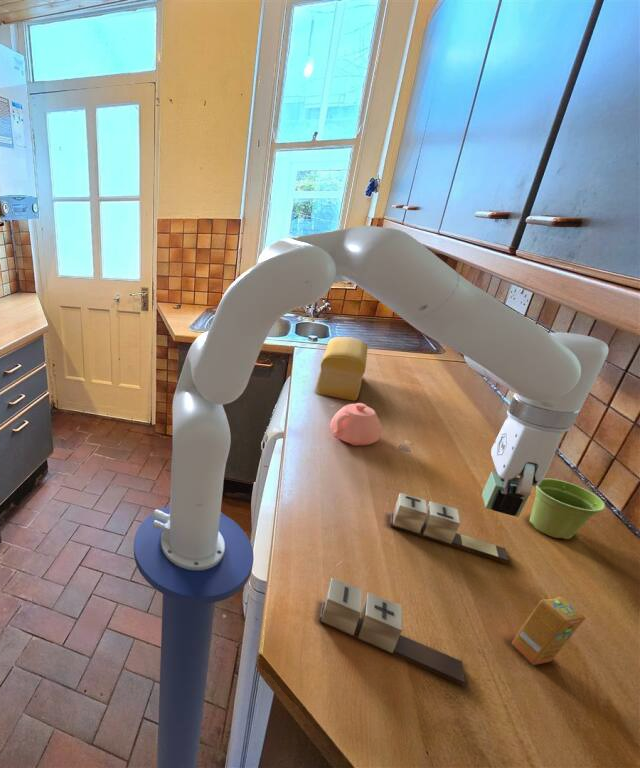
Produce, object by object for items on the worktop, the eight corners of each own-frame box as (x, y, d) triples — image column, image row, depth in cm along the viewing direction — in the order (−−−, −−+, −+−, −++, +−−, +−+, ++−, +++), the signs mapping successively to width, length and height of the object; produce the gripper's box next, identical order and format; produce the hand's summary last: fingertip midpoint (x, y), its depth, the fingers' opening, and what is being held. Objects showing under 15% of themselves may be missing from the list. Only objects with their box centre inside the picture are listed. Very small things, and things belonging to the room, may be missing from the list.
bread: (323, 369, 156) (330, 332, 150) (360, 375, 150) (370, 337, 144) (314, 393, 137) (323, 351, 131) (357, 401, 131) (368, 358, 125)
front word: (318, 624, 63) (325, 597, 60) (322, 602, 66) (329, 576, 64) (463, 691, 54) (478, 662, 52) (459, 661, 57) (474, 633, 55)
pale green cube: (485, 508, 71) (495, 484, 69) (481, 494, 74) (491, 471, 72) (518, 517, 69) (530, 493, 66) (513, 502, 72) (524, 478, 70)
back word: (389, 528, 81) (397, 504, 78) (390, 514, 84) (398, 491, 82) (507, 566, 72) (520, 541, 70) (502, 549, 76) (515, 524, 73)
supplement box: (534, 668, 57) (566, 620, 52) (510, 643, 60) (537, 597, 56) (554, 663, 57) (587, 616, 53) (529, 640, 60) (558, 593, 56)
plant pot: (527, 505, 86) (544, 472, 83) (589, 533, 79) (611, 497, 75) (511, 523, 82) (528, 489, 78) (576, 554, 74) (598, 518, 71)
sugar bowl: (388, 443, 109) (398, 410, 104) (350, 455, 104) (359, 421, 99) (350, 422, 119) (357, 391, 115) (313, 432, 114) (320, 400, 110)
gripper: (500, 387, 72) (467, 471, 79) (521, 429, 59) (479, 525, 66) (558, 396, 68) (517, 483, 76) (594, 443, 55) (541, 543, 63)
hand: (500, 502), depth 71 cm, fingers closed on pale green cube, 4 cm apart
